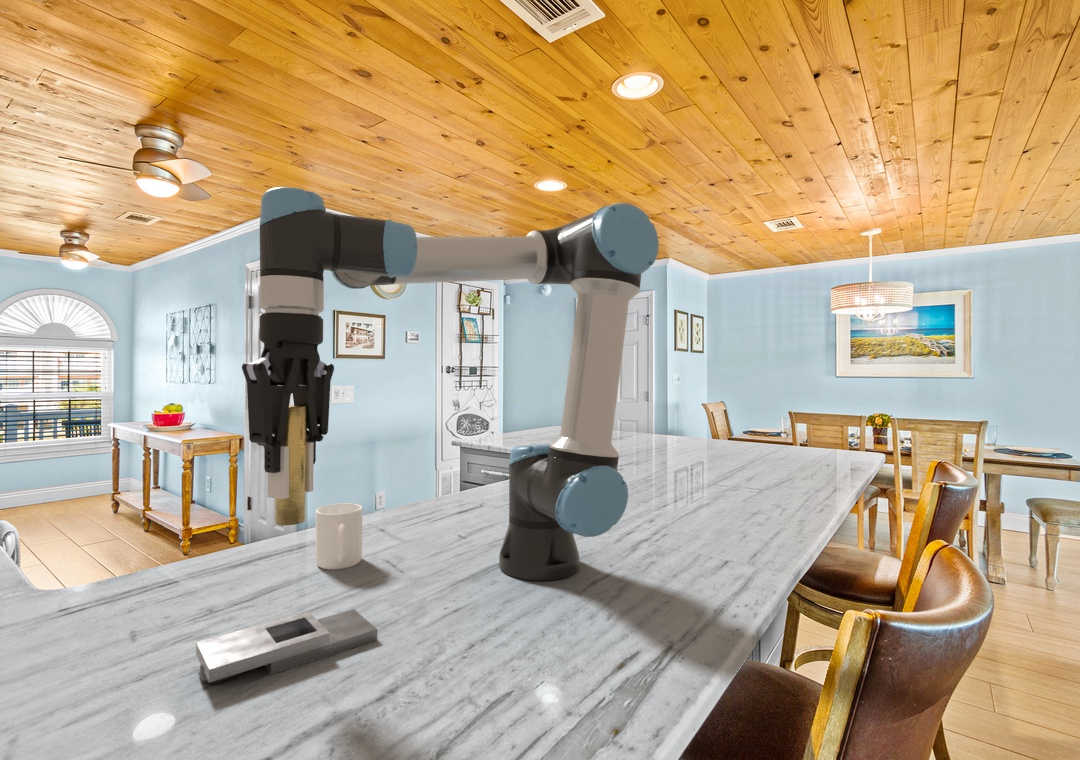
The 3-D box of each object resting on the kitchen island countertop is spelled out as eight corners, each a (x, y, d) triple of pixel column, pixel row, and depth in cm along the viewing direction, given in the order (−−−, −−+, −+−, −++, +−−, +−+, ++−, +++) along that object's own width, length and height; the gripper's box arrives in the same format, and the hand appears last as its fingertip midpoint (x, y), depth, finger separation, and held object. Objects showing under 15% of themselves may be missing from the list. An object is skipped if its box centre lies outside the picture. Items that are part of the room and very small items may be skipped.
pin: (311, 519, 73) (312, 406, 72) (290, 526, 69) (291, 408, 69) (289, 516, 74) (290, 405, 74) (268, 523, 71) (269, 406, 70)
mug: (367, 573, 99) (367, 516, 99) (317, 580, 96) (317, 521, 95) (359, 552, 110) (359, 501, 110) (314, 558, 106) (314, 505, 106)
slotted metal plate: (353, 619, 81) (353, 599, 81) (377, 639, 75) (377, 618, 75) (194, 666, 68) (194, 642, 68) (207, 696, 62) (207, 670, 62)
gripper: (315, 319, 80) (314, 479, 81) (212, 307, 64) (212, 505, 65) (357, 318, 78) (356, 483, 78) (262, 305, 62) (261, 512, 62)
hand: (290, 493), depth 72 cm, fingers closed on pin, 4 cm apart
